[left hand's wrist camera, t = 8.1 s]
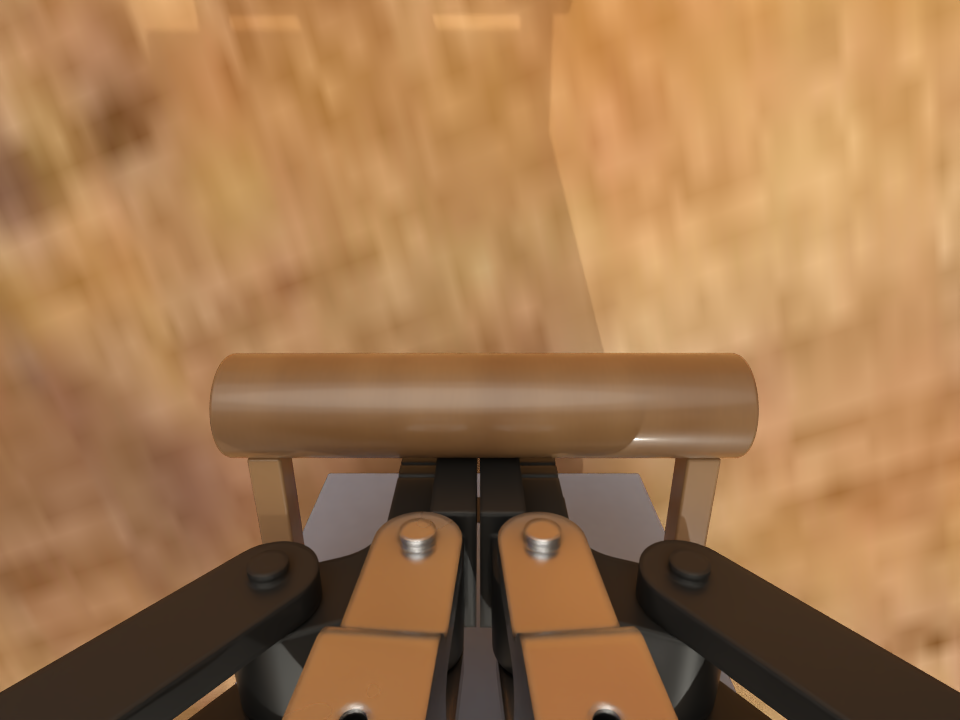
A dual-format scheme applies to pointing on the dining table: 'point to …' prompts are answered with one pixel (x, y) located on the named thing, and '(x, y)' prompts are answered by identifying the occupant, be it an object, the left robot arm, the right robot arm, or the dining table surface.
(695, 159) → the dining table surface
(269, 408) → the drawer
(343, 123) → the dining table surface
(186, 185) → the dining table surface
